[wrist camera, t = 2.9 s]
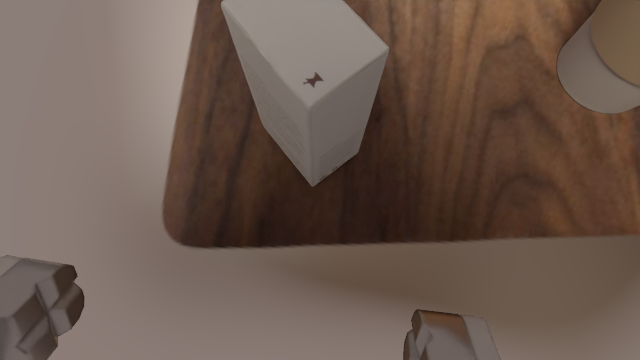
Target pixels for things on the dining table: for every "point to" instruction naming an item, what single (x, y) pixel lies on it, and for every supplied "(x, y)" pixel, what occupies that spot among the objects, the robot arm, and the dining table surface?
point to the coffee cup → (604, 59)
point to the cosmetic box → (309, 76)
